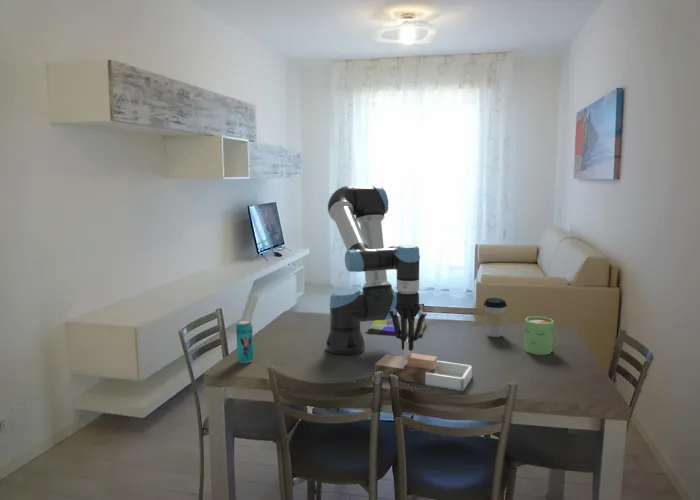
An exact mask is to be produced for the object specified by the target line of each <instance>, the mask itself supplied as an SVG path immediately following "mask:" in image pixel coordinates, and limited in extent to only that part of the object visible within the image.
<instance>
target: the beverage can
mask: <svg viewBox="0 0 700 500" xmlns="http://www.w3.org/2000/svg"><path fill="white" fill-rule="evenodd" d="M235 329H236V350H237V351H236V352H237V359H238V362H239V363H240V364H250V363H252V362H253V358H254V337H253V336H254V334H253V323H252V320H248V319H243V320H242V319H241V320H238V321H237V322H236V327H235ZM249 362H250V363H249Z"/></svg>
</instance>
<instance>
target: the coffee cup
mask: <svg viewBox="0 0 700 500" xmlns="http://www.w3.org/2000/svg"><path fill="white" fill-rule="evenodd" d="M483 306H484V309H485V311H484V316H485V317H484V318H485V326H486V335H487V336H488V337H492V338H500V337H502V335H503V328H504V323H505V316H506V307H507V306H508V305H507V302H506V300H505V299H503V298H498V297H490V298H485V300H484V302H483Z"/></svg>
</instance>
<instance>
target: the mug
mask: <svg viewBox="0 0 700 500" xmlns="http://www.w3.org/2000/svg"><path fill="white" fill-rule="evenodd" d="M554 334H555V343H554V344H553V335H554ZM558 342H559V336H558V332H557V331H556V329H555V328H554V320H553V319H552V318H549V317H545V316H537V315H536V316H534V315H533V316H527V317H526V318H525V321H524V342H523V343H524V345H523V350H524V351H525V352H527V353H529V354H532V355H540V356H541V355H542V356H543V355H545V356H546V355H549V354H550V355H551V354H552V353H551V352H553V348H555V347H556V346H557V345H558Z"/></svg>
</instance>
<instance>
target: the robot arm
mask: <svg viewBox="0 0 700 500" xmlns="http://www.w3.org/2000/svg"><path fill="white" fill-rule="evenodd" d="M388 211H389V198H388V195H387V192H386V190H385V189H384V188H383V186H380V185H373V184H370V185H345V186H342V187H340V188H337V189H336V190H335V191H334V192H333V193H332V194H331V196H330V198H329V200H328V201H327V212H328V215H329V217H330V218H331V220H332V221H334V222H335V225H336V228H337V229H338V231H339V234H340V237H341V239H342V242H343V244H344V246H345V248H346V252H345V253H344V254H345V255H344V264H345V265H344V266H345V269H346V270H347V271H348V272H350V273H351V272H352V273H353V272H354V273H355V272H356V273H361V272H364V278H365V283H364V284H363V286H361V287H362V291H360V289H359V288H357V287H347V288H342V289H341V288H340V289H337V290H335V291H333V292H332V293H331V294H330V297H329V319H330V321H329V324H330V325H329V328H330V329H329V332H328V336H327V338H326V339H327V340H326V343H325V350H326V351H327V352H328V353H330V354H334V355H340V356H341V355H342V356H348V355H356V354H359V353H362V352H363V351H364V350H365V348H366V347H365V346H366V345H365V344H366V343H365V340H364V337H363V334H362V331H361V323H362V322H374V321H376V320H384V321H386V320H391V319H392V320H391V321H393V325H394V330H395V334H396V336H395V337H396V339H399V340H401V349H402V351H403V357H404V360H408V356H409V355H410V354H411V353H412V352H413V350H414V349H415V348H414V342H416V341H418V339H419V338H420V336H421V335H420V332H421V328H422V324H423V322H424V320H425V318H426V316H428V314H427V312H423V310H422V309H421V307H420V292H419V291H420V258H421V255H420V248H419V247H418V246H417V245H413V244H400V245H398V246H396V245H395V246H394V245H392V246H391V245H390V246H388V247H385V246H384V239H383V238H384V235H383V227H382V225H383V224H382V221H383V220H384V219H385V215H386V214H387V213H388ZM388 270H389V271H390V270H396V289H394V288H393V287H392V283H391V282H389V281H388V276H387V271H388ZM398 315H399V317H400V321H399V317H398ZM417 315H418V316H417ZM416 316H417V317H418V319H417V322H416V323H417V326H416V330H415V334H414V323H415V318H416ZM399 322H401V329H400V324H399ZM407 323H408V337H407Z"/></svg>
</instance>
